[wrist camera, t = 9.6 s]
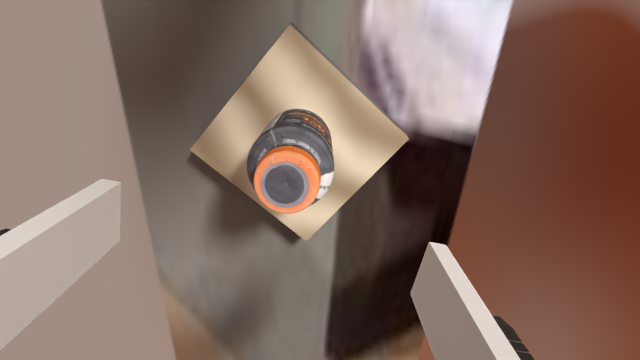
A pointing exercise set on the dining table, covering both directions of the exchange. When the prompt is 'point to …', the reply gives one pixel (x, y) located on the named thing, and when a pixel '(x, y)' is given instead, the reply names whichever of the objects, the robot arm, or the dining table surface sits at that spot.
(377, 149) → the plate
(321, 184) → the pill bottle
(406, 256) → the dining table surface
